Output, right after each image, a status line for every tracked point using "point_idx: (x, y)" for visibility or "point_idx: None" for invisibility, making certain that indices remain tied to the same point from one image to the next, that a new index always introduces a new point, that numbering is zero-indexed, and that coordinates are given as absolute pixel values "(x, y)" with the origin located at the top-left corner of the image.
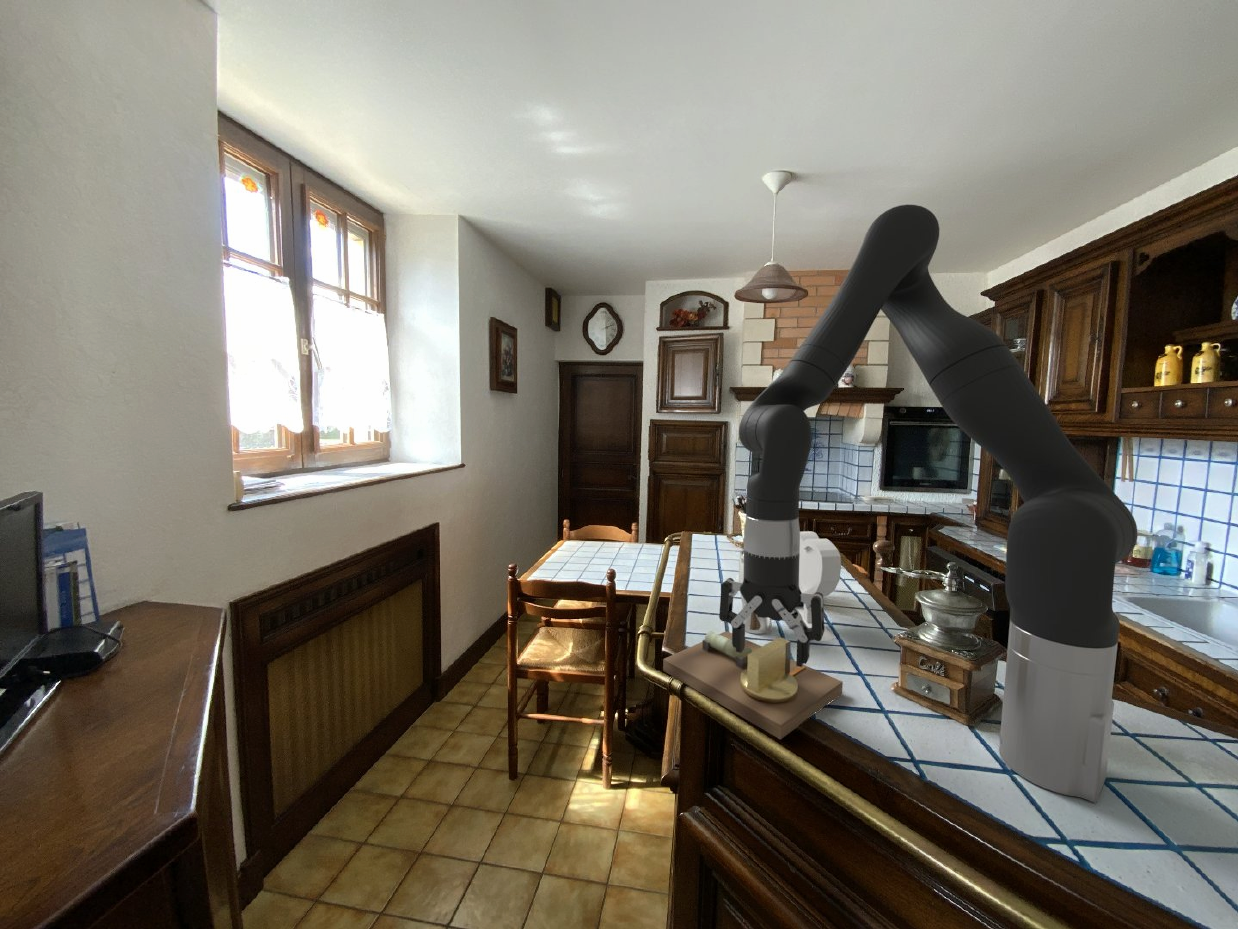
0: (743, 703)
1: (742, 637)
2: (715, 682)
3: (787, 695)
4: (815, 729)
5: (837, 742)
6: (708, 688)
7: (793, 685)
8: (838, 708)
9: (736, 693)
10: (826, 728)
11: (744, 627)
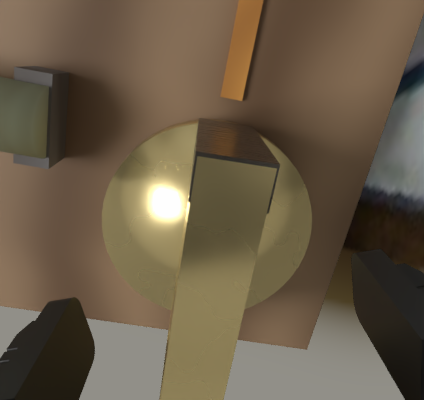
0: None
1: (62, 380)
2: (54, 290)
3: (295, 267)
4: (361, 235)
5: (421, 249)
6: None
7: (296, 208)
8: (405, 91)
9: (141, 301)
10: (387, 213)
11: (27, 390)
